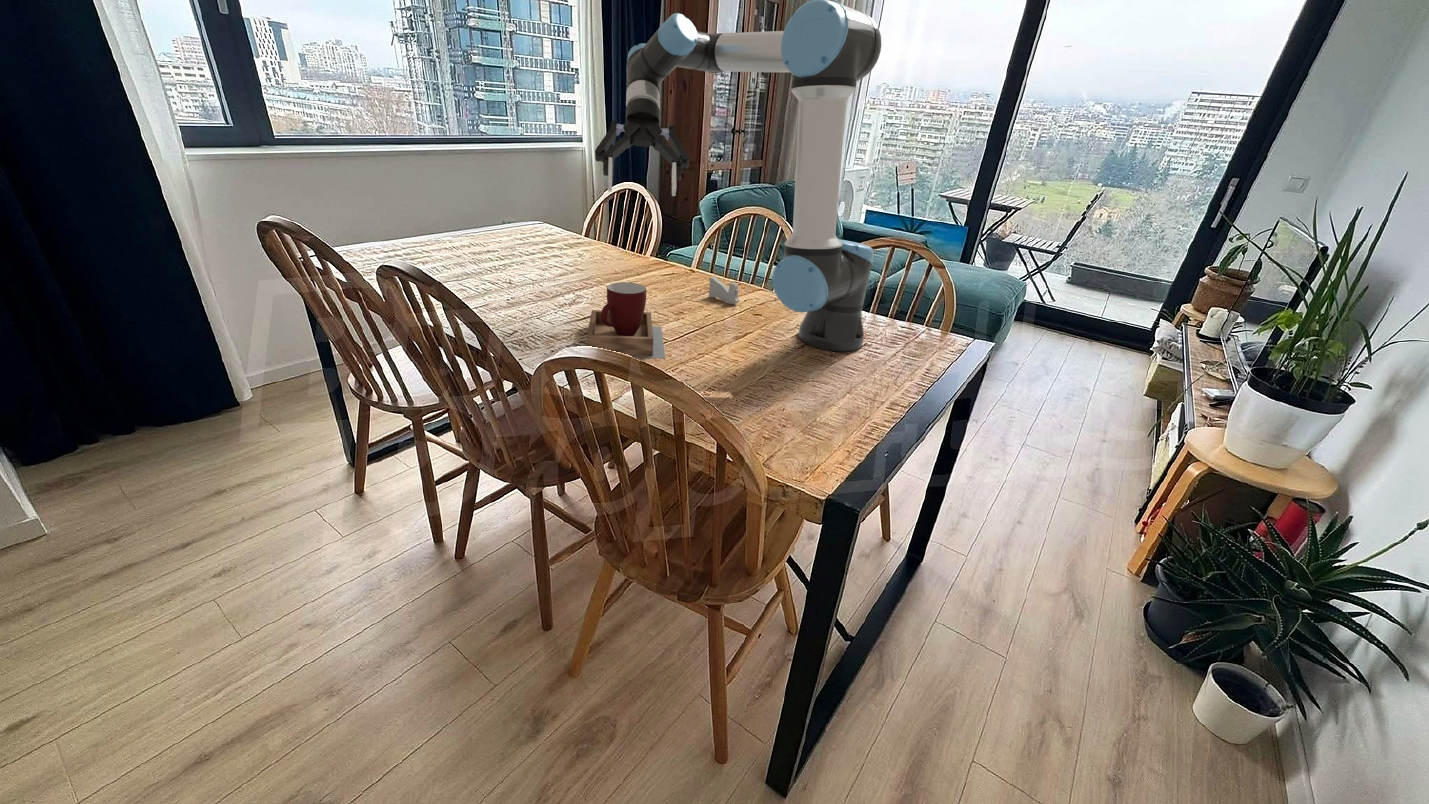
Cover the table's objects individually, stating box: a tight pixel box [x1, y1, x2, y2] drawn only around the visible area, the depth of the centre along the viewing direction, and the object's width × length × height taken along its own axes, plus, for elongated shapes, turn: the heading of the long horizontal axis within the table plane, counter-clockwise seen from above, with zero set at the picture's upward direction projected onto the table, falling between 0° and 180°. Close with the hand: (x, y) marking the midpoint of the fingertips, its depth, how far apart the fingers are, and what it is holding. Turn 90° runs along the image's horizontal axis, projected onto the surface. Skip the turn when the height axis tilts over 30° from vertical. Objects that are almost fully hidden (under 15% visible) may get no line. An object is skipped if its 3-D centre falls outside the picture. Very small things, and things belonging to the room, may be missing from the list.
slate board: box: [585, 325, 666, 360], centre depth 122 cm, size 16×18×1 cm
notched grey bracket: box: [708, 276, 740, 305], centre depth 154 cm, size 6×1×10 cm
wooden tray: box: [586, 309, 653, 356], centre depth 121 cm, size 13×16×4 cm
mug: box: [601, 281, 647, 336], centre depth 119 cm, size 11×8×10 cm
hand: (642, 189), depth 122 cm, fingers open, 13 cm apart
